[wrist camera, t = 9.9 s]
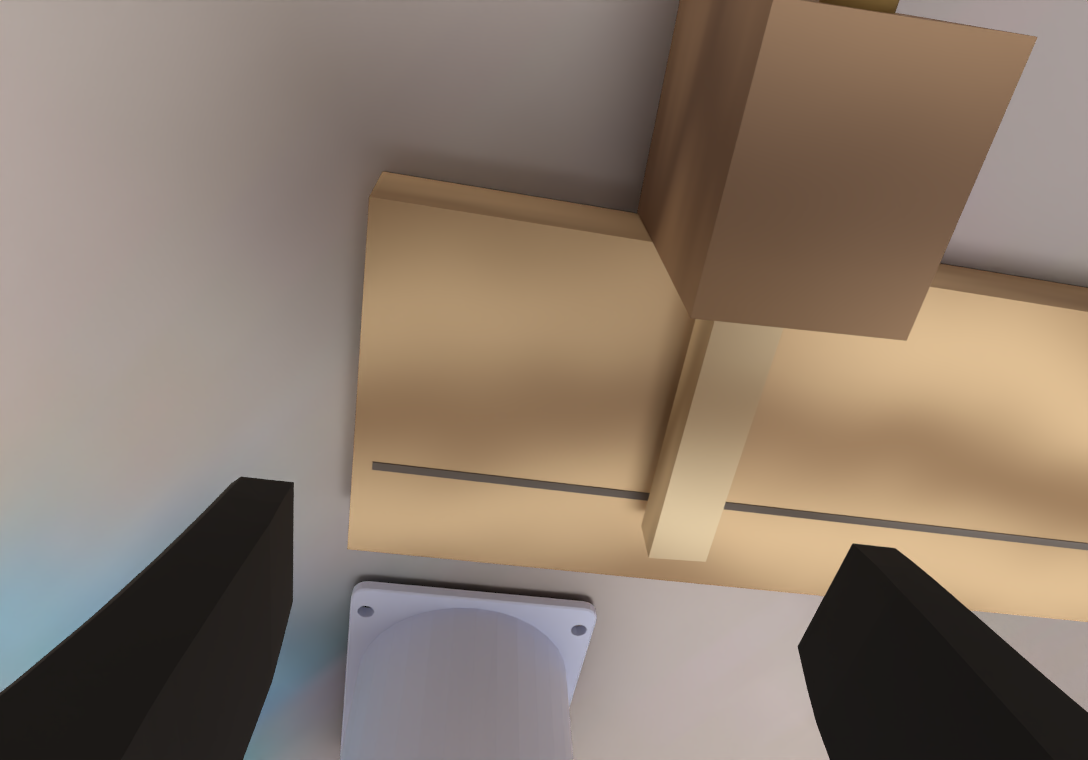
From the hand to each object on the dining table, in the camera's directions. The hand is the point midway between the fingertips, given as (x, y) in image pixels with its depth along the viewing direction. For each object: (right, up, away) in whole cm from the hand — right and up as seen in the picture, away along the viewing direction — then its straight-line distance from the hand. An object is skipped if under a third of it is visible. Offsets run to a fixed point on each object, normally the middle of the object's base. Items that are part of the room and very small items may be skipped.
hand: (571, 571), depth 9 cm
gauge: (+4, +6, +9) cm, 11 cm away
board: (+7, +1, +12) cm, 14 cm away
